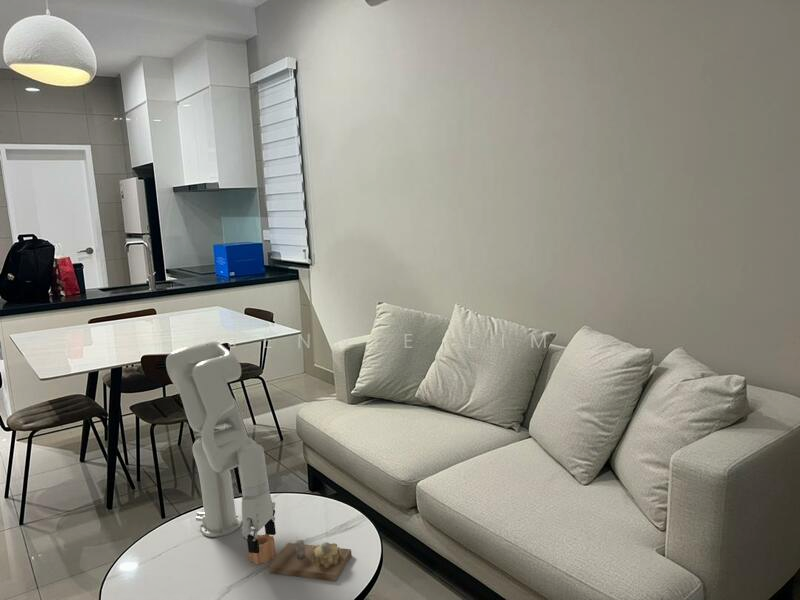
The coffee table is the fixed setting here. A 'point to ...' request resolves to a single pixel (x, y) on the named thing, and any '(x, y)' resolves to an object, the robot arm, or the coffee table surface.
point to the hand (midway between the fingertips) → (262, 543)
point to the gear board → (311, 561)
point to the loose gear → (264, 549)
